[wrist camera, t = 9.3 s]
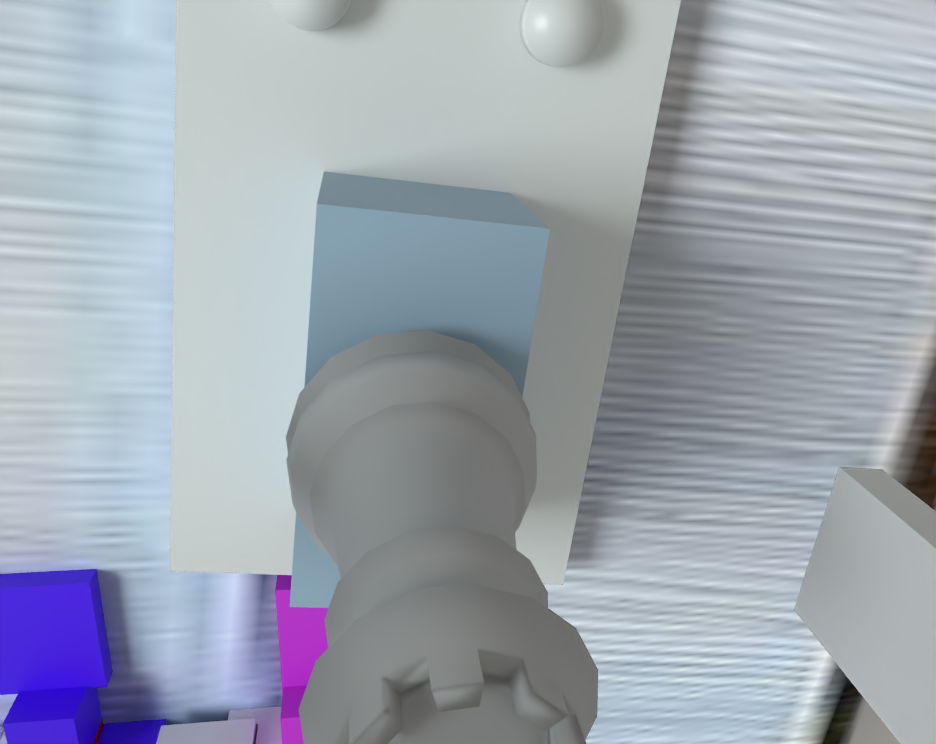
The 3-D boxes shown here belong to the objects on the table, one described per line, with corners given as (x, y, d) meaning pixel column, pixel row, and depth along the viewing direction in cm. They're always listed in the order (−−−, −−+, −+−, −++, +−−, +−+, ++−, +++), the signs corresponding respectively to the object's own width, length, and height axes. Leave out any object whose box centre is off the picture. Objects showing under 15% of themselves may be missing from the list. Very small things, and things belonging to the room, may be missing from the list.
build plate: (190, -300, 15) (173, -338, 14) (702, -194, 17) (736, -218, 15) (177, 548, 21) (165, 585, 20) (554, 563, 23) (568, 598, 22)
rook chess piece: (546, 334, 15) (735, 605, 8) (506, 545, 17) (631, 939, 9) (297, 308, 14) (241, 581, 7) (278, 532, 16) (216, 951, 8)
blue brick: (323, 171, 17) (317, 203, 14) (509, 192, 18) (550, 228, 14) (300, 505, 20) (289, 606, 16) (462, 512, 21) (486, 612, 17)
